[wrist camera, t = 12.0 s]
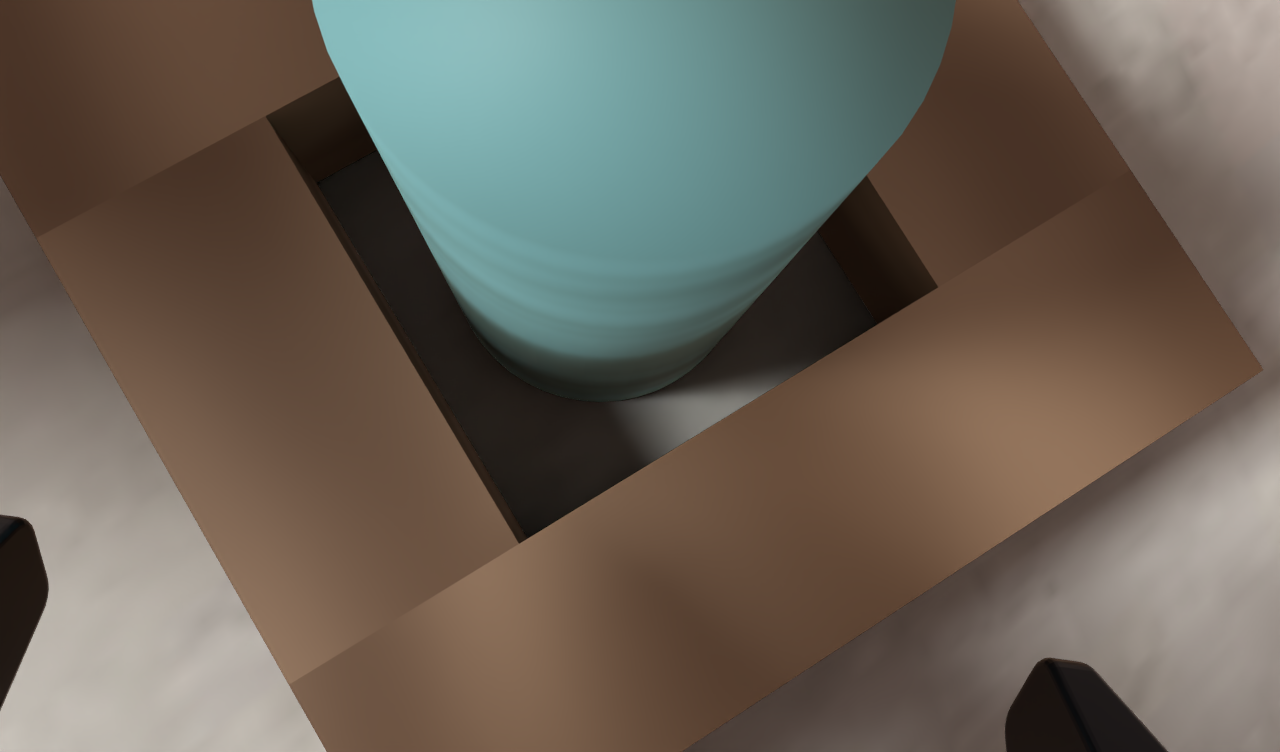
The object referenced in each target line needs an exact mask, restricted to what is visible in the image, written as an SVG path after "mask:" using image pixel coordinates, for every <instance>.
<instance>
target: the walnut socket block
mask: <svg viewBox="0 0 1280 752" xmlns="http://www.w3.org/2000/svg"><path fill="white" fill-rule="evenodd" d="M376 150H377V147H376V146H375V144H374V142H373V140H372V138H371V136H370V134H369V132H368V130H367V128H366V126H365V125H364V123H363V121H362V119H361V117H360V115H359V113H358V111H357V109H356V107H355V106H354V104H353V102H352V100H351V98H350V96H349V94H348V92H347V90H346V88H345V86H344V84H343V82H342V80H341V78H340V76H339V74H338V72H337V70H336V68H335V66H334V64H333V62H332V60H331V58H330V56H329V54H328V52H327V49H326V46H325V43H324V40H323V37H322V34H321V31H320V27H319V24H318V21H317V18H316V15H315V12H314V8H313V2H312V0H0V175H1V177H2V179H3V181H4V182H5V184H6V186H7V188H8V190H9V191H10V193H11V195H12V197H13V198H14V200H15V202H16V204H17V205H18V207H19V209H20V211H21V213H22V214H23V216H24V218H25V220H26V221H27V223H28V225H29V227H30V228H31V230H32V232H33V234H34V235H35V237H36V239H37V241H38V243H39V244H40V246H41V248H42V250H43V251H44V253H45V255H46V257H47V258H48V260H49V262H50V264H51V265H52V267H53V269H54V271H55V273H56V274H57V276H58V278H59V280H60V281H61V283H62V285H63V287H64V288H65V290H66V292H67V294H68V296H69V297H70V299H71V301H72V303H73V304H74V306H75V308H76V310H77V311H78V313H79V315H80V317H81V318H82V320H83V322H84V324H85V326H86V327H87V329H88V331H89V333H90V334H91V336H92V338H93V340H94V341H95V343H96V345H97V347H98V348H99V350H100V352H101V354H102V356H103V357H104V359H105V361H106V363H107V364H108V366H109V368H110V370H111V371H112V373H113V375H114V377H115V379H116V380H117V382H118V384H119V386H120V387H121V389H122V391H123V393H124V394H125V396H126V398H127V400H128V401H129V403H130V405H131V407H132V409H133V410H134V412H135V414H136V416H137V417H138V419H139V421H140V423H141V424H142V426H143V428H144V430H145V431H146V433H147V435H148V437H149V439H150V440H151V442H152V444H153V446H154V447H155V449H156V451H157V453H158V454H159V456H160V458H161V460H162V461H163V463H164V465H165V467H166V469H167V470H168V472H169V474H170V476H171V477H172V479H173V481H174V483H175V484H176V486H177V488H178V490H179V492H180V493H181V495H182V497H183V499H184V500H185V502H186V504H187V506H188V507H189V509H190V511H191V513H192V514H193V516H194V518H195V520H196V522H197V523H198V525H199V527H200V529H201V530H202V532H203V534H204V536H205V537H206V539H207V541H208V543H209V544H210V546H211V548H212V550H213V552H214V553H215V555H216V557H217V559H218V560H219V562H220V564H221V566H222V567H223V569H224V571H225V573H226V575H227V576H228V578H229V580H230V582H231V583H232V585H233V587H234V589H235V590H236V592H237V594H238V596H239V597H240V599H241V601H242V603H243V605H244V606H245V608H246V610H247V612H248V613H249V615H250V617H251V619H252V620H253V622H254V624H255V626H256V627H257V629H258V631H259V633H260V635H261V636H262V638H263V640H264V642H265V643H266V645H267V647H268V649H269V650H270V652H271V654H272V656H273V657H274V659H275V661H276V663H277V665H278V666H279V668H280V670H281V672H282V673H283V675H284V677H285V679H286V680H287V682H288V684H289V686H290V688H291V689H292V691H293V693H294V695H295V696H296V698H297V700H298V702H299V703H300V705H301V707H302V709H303V710H304V712H305V714H306V716H307V718H308V719H309V721H310V723H311V725H312V726H313V728H314V730H315V732H316V733H317V735H318V737H319V739H320V740H321V742H322V744H323V746H324V748H325V749H326V751H327V752H682V751H683V750H685V749H687V748H688V747H690V746H691V745H693V744H694V743H696V742H697V741H699V740H700V739H702V738H703V737H705V736H706V735H708V734H709V733H711V732H712V731H714V730H715V729H717V728H719V727H720V726H722V725H723V724H725V723H726V722H728V721H729V720H731V719H732V718H734V717H735V716H737V715H738V714H740V713H741V712H743V711H744V710H746V709H747V708H749V707H751V706H752V705H754V704H755V703H757V702H758V701H760V700H761V699H763V698H764V697H766V696H767V695H769V694H770V693H772V692H773V691H775V690H776V689H778V688H780V687H781V686H783V685H784V684H786V683H787V682H789V681H790V680H792V679H793V678H795V677H796V676H798V675H799V674H801V673H802V672H804V671H805V670H807V669H808V668H810V667H812V666H813V665H815V664H816V663H818V662H819V661H821V660H822V659H824V658H825V657H827V656H828V655H830V654H831V653H833V652H834V651H836V650H837V649H839V648H840V647H842V646H844V645H845V644H847V643H848V642H850V641H851V640H853V639H854V638H856V637H857V636H859V635H860V634H862V633H863V632H865V631H866V630H868V629H869V628H871V627H872V626H874V625H876V624H877V623H879V622H880V621H882V620H883V619H885V618H886V617H888V616H889V615H891V614H892V613H894V612H895V611H897V610H898V609H900V608H901V607H903V606H905V605H906V604H908V603H909V602H911V601H912V600H914V599H915V598H917V597H918V596H920V595H921V594H923V593H924V592H926V591H927V590H929V589H930V588H932V587H933V586H935V585H937V584H938V583H940V582H941V581H943V580H944V579H946V578H947V577H949V576H950V575H952V574H953V573H955V572H956V571H958V570H959V569H961V568H962V567H964V566H965V565H967V564H969V563H970V562H972V561H973V560H975V559H976V558H978V557H979V556H981V555H982V554H984V553H985V552H987V551H988V550H990V549H991V548H993V547H994V546H996V545H997V544H999V543H1001V542H1002V541H1004V540H1005V539H1007V538H1008V537H1010V536H1011V535H1013V534H1014V533H1016V532H1017V531H1019V530H1020V529H1022V528H1023V527H1025V526H1026V525H1028V524H1030V523H1031V522H1033V521H1034V520H1036V519H1037V518H1039V517H1040V516H1042V515H1043V514H1045V513H1046V512H1048V511H1049V510H1051V509H1052V508H1054V507H1055V506H1057V505H1058V504H1060V503H1062V502H1063V501H1065V500H1066V499H1068V498H1069V497H1071V496H1072V495H1074V494H1075V493H1077V492H1078V491H1080V490H1081V489H1083V488H1084V487H1086V486H1087V485H1089V484H1090V483H1092V482H1094V481H1095V480H1097V479H1098V478H1100V477H1101V476H1103V475H1104V474H1106V473H1107V472H1109V471H1110V470H1112V469H1113V468H1115V467H1116V466H1118V465H1119V464H1121V463H1122V462H1124V461H1126V460H1127V459H1129V458H1130V457H1132V456H1133V455H1135V454H1136V453H1138V452H1139V451H1141V450H1142V449H1144V448H1145V447H1147V446H1148V445H1150V444H1151V443H1153V442H1154V441H1156V440H1158V439H1159V438H1161V437H1162V436H1164V435H1165V434H1167V433H1168V432H1170V431H1171V430H1173V429H1174V428H1176V427H1177V426H1179V425H1180V424H1182V423H1183V422H1185V421H1187V420H1188V419H1190V418H1191V417H1193V416H1194V415H1196V414H1197V413H1199V412H1200V411H1202V410H1203V409H1205V408H1206V407H1208V406H1209V405H1211V404H1212V403H1214V402H1215V401H1217V400H1219V399H1220V398H1222V397H1223V396H1225V395H1226V394H1228V393H1229V392H1231V391H1232V390H1234V389H1235V388H1237V387H1238V386H1240V385H1241V384H1243V383H1244V382H1246V381H1247V380H1249V379H1251V378H1252V377H1254V376H1255V375H1257V374H1258V373H1260V372H1261V371H1263V368H1262V367H1261V365H1260V364H1259V362H1258V361H1257V359H1256V358H1255V356H1254V355H1253V353H1252V352H1251V350H1250V349H1249V347H1248V346H1247V344H1246V343H1245V341H1244V340H1243V338H1242V337H1241V335H1240V334H1239V332H1238V331H1237V329H1236V328H1235V326H1234V325H1233V323H1232V322H1231V320H1230V319H1229V317H1228V316H1227V314H1226V313H1225V311H1224V310H1223V308H1222V307H1221V305H1220V304H1219V302H1218V301H1217V299H1216V298H1215V296H1214V295H1213V293H1212V292H1211V290H1210V289H1209V287H1208V286H1207V284H1206V283H1205V281H1204V280H1203V278H1202V277H1201V275H1200V274H1199V272H1198V271H1197V269H1196V268H1195V266H1194V265H1193V263H1192V262H1191V260H1190V259H1189V257H1188V256H1187V254H1186V253H1185V251H1184V250H1183V248H1182V247H1181V245H1180V244H1179V242H1178V241H1177V239H1176V238H1175V236H1174V235H1173V233H1172V232H1171V230H1170V229H1169V227H1168V226H1167V224H1166V223H1165V221H1164V220H1163V218H1162V217H1161V215H1160V214H1159V212H1158V211H1157V209H1156V208H1155V206H1154V205H1153V203H1152V202H1151V200H1150V199H1149V197H1148V196H1147V194H1146V193H1145V191H1144V190H1143V188H1142V187H1141V185H1140V184H1139V182H1138V181H1137V179H1136V178H1135V176H1134V175H1133V173H1132V172H1131V170H1130V169H1129V167H1128V166H1127V164H1126V163H1125V161H1124V160H1123V158H1122V157H1121V155H1120V154H1119V152H1118V151H1117V149H1116V148H1115V146H1114V145H1113V143H1112V142H1111V140H1110V139H1109V137H1108V136H1107V134H1106V133H1105V131H1104V130H1103V128H1102V127H1101V125H1100V124H1099V122H1098V121H1097V119H1096V118H1095V116H1094V115H1093V113H1092V112H1091V110H1090V109H1089V107H1088V106H1087V104H1086V103H1085V101H1084V100H1083V98H1082V97H1081V95H1080V94H1079V92H1078V91H1077V89H1076V88H1075V86H1074V85H1073V83H1072V82H1071V80H1070V79H1069V77H1068V76H1067V74H1066V73H1065V71H1064V70H1063V68H1062V67H1061V65H1060V64H1059V62H1058V61H1057V59H1056V58H1055V56H1054V55H1053V53H1052V52H1051V50H1050V49H1049V47H1048V46H1047V44H1046V43H1045V41H1044V40H1043V38H1042V37H1041V35H1040V34H1039V32H1038V31H1037V29H1036V28H1035V26H1034V25H1033V23H1032V22H1031V20H1030V19H1029V17H1028V16H1027V14H1026V13H1025V11H1024V10H1023V8H1022V7H1021V5H1020V4H1019V2H1018V1H1017V0H956V3H955V9H954V16H953V22H952V27H951V31H950V34H949V37H948V41H947V44H946V47H945V51H944V54H943V57H942V61H941V64H940V66H939V68H938V71H937V73H936V75H935V77H934V79H933V81H932V84H931V86H930V88H929V90H928V92H927V94H926V96H925V99H924V101H923V102H922V104H921V105H920V107H919V108H918V110H917V112H916V113H915V115H914V116H913V118H912V119H911V121H910V122H909V124H908V126H907V127H906V129H905V130H904V132H903V133H902V135H901V136H900V137H899V138H898V139H897V141H896V142H895V143H894V144H893V145H892V146H891V147H890V149H889V150H888V151H887V152H886V153H885V154H884V156H883V157H882V158H881V159H880V160H879V161H878V163H877V164H876V165H875V166H874V167H873V168H872V169H871V170H870V172H869V173H868V174H867V175H866V176H865V177H864V178H863V180H862V181H861V182H860V183H859V184H858V185H857V186H856V187H855V189H854V190H853V191H852V192H851V193H850V194H849V195H848V196H847V198H846V199H845V200H844V201H843V202H842V203H841V204H840V206H839V207H838V208H837V209H836V210H835V211H834V212H833V213H832V215H831V216H830V217H829V218H828V219H827V220H826V221H825V222H824V224H823V225H822V226H821V227H820V228H819V229H818V232H819V233H820V235H821V237H822V238H823V240H824V241H825V243H826V244H827V246H828V248H829V249H830V251H831V252H832V254H833V255H834V257H835V259H836V260H837V262H838V263H839V265H840V266H841V268H842V270H843V271H844V273H845V274H846V276H847V277H848V279H849V281H850V282H851V284H852V285H853V287H854V289H855V290H856V292H857V293H858V295H859V296H860V298H861V300H862V301H863V303H864V304H865V306H866V307H867V309H868V311H869V312H870V314H871V315H872V317H873V318H874V320H875V322H876V323H877V325H876V326H874V327H873V328H871V329H869V330H868V331H866V332H864V333H863V334H861V335H860V336H858V337H856V338H855V339H853V340H851V341H850V342H848V343H847V344H845V345H843V346H842V347H840V348H838V349H837V350H835V351H833V352H832V353H830V354H829V355H827V356H825V357H824V358H822V359H820V360H819V361H817V362H815V363H814V364H812V365H811V366H809V367H807V368H806V369H804V370H802V371H801V372H799V373H797V374H796V375H794V376H793V377H791V378H789V379H788V380H786V381H784V382H783V383H781V384H780V385H778V386H776V387H775V388H773V389H771V390H770V391H768V392H766V393H765V394H763V395H762V396H760V397H758V398H757V399H755V400H753V401H752V402H750V403H748V404H747V405H745V406H744V407H742V408H740V409H739V410H737V411H735V412H734V413H732V414H730V415H729V416H727V417H726V418H724V419H722V420H721V421H719V422H717V423H716V424H714V425H713V426H711V427H709V428H708V429H706V430H704V431H703V432H701V433H699V434H698V435H696V436H695V437H693V438H691V439H690V440H688V441H686V442H685V443H683V444H681V445H680V446H678V447H677V448H675V449H673V450H672V451H670V452H668V453H667V454H665V455H663V456H662V457H660V458H659V459H657V460H655V461H654V462H652V463H650V464H649V465H647V466H646V467H644V468H642V469H641V470H639V471H637V472H636V473H634V474H632V475H631V476H629V477H628V478H626V479H624V480H623V481H621V482H619V483H618V484H616V485H614V486H613V487H611V488H610V489H608V490H606V491H605V492H603V493H601V494H600V495H598V496H596V497H595V498H593V499H592V500H590V501H588V502H587V503H585V504H583V505H582V506H580V507H579V508H577V509H575V510H574V511H572V512H570V513H569V514H567V515H565V516H564V517H562V518H561V519H559V520H557V521H556V522H554V523H552V524H551V525H549V526H547V527H546V528H544V529H543V530H541V531H539V532H538V533H536V534H534V535H533V536H531V537H529V538H528V539H527V537H526V535H525V534H524V532H523V530H522V529H521V527H520V525H519V523H518V522H517V520H516V518H515V517H514V515H513V513H512V512H511V510H510V508H509V507H508V505H507V503H506V502H505V500H504V498H503V497H502V495H501V493H500V491H499V490H498V488H497V486H496V485H495V483H494V481H493V480H492V478H491V476H490V475H489V473H488V471H487V470H486V468H485V466H484V465H483V463H482V461H481V459H480V458H479V456H478V454H477V453H476V451H475V449H474V448H473V446H472V444H471V443H470V441H469V439H468V438H467V436H466V434H465V433H464V431H463V429H462V427H461V426H460V424H459V422H458V421H457V419H456V417H455V416H454V414H453V412H452V411H451V409H450V407H449V406H448V404H447V402H446V401H445V399H444V397H443V395H442V394H441V392H440V390H439V389H438V387H437V385H436V384H435V382H434V380H433V379H432V377H431V375H430V374H429V372H428V370H427V369H426V367H425V365H424V363H423V362H422V360H421V358H420V357H419V355H418V353H417V352H416V350H415V348H414V347H413V345H412V343H411V342H410V340H409V338H408V337H407V335H406V333H405V331H404V330H403V328H402V326H401V325H400V323H399V321H398V320H397V318H396V316H395V315H394V313H393V311H392V310H391V308H390V306H389V305H388V303H387V301H386V299H385V298H384V296H383V294H382V293H381V291H380V289H379V288H378V286H377V284H376V283H375V281H374V279H373V278H372V276H371V274H370V273H369V271H368V269H367V267H366V266H365V264H364V262H363V261H362V259H361V257H360V256H359V254H358V252H357V251H356V249H355V247H354V246H353V244H352V242H351V241H350V239H349V237H348V235H347V234H346V232H345V230H344V229H343V227H342V225H341V224H340V222H339V220H338V219H337V217H336V215H335V214H334V212H333V210H332V209H331V207H330V205H329V203H328V202H327V200H326V198H325V197H324V195H323V193H322V192H321V190H320V188H319V187H318V185H317V182H319V181H321V180H322V179H324V178H326V177H328V176H330V175H332V174H333V173H335V172H337V171H339V170H341V169H343V168H344V167H346V166H348V165H350V164H352V163H354V162H355V161H357V160H359V159H361V158H363V157H365V156H366V155H368V154H370V153H372V152H374V151H376Z"/></svg>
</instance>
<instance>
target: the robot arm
mask: <svg viewBox="0 0 1280 752" xmlns="http://www.w3.org/2000/svg"><path fill="white" fill-rule="evenodd" d="M48 591H49V588H48V578H47V574H46V571H45V567H44V564H43V560H42V556H41V553H40V549H39V546H38V542H37V539H36V535H35V532H34V529H33V527H32V525H31V524H30V523H29V522H28V521H27V520H26V519H23V518H21V517H14V516H7V515H0V710H1V708H2V706H3V703H4V701H5V699H6V696H7V694H8V692H9V689H10V687H11V685H12V683H13V680H14V678H15V676H16V673H17V671H18V669H19V666H20V664H21V662H22V659H23V657H24V655H25V653H26V650H27V648H28V646H29V643H30V641H31V639H32V636H33V634H34V632H35V629H36V627H37V625H38V623H39V620H40V618H41V616H42V613H43V611H44V608H45V606H46V602H47V598H48ZM1005 741H1006V751H1007V752H1168V751H1167V750H1166V749H1165V748H1164V746H1163V745H1162V744H1161V743H1160V742H1159V741H1158V740H1157V739H1156V738H1155V736H1154V735H1153V734H1152V733H1151V732H1150V731H1149V730H1148V729H1147V727H1146V726H1145V725H1144V724H1143V723H1142V722H1141V721H1140V720H1139V719H1138V717H1137V716H1136V715H1135V714H1134V713H1133V712H1132V711H1131V710H1130V709H1129V707H1128V706H1127V705H1126V704H1125V703H1124V702H1123V701H1122V700H1121V699H1120V697H1119V696H1118V695H1117V694H1116V693H1115V692H1114V691H1113V690H1112V688H1111V687H1110V686H1109V685H1108V684H1107V683H1106V682H1105V681H1104V680H1103V678H1102V677H1101V676H1100V675H1099V674H1098V673H1097V672H1096V671H1095V670H1094V669H1093V668H1092V667H1090V666H1089V665H1087V664H1085V663H1082V662H1077V661H1070V660H1062V659H1055V658H1044V659H1042V660H1041V661H1039V662H1037V664H1036V665H1035V666H1034V668H1033V670H1032V671H1031V673H1030V675H1029V676H1028V678H1027V680H1026V682H1025V683H1024V685H1023V687H1022V688H1021V690H1020V692H1019V693H1018V695H1017V697H1016V699H1015V700H1014V702H1013V704H1012V705H1011V707H1010V709H1009V711H1008V715H1007V718H1006V724H1005Z"/></svg>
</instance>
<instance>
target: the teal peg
mask: <svg viewBox="0 0 1280 752" xmlns="http://www.w3.org/2000/svg"><path fill="white" fill-rule="evenodd" d="M312 2H313V8H314V12H315V15H316V18H317V21H318V24H319V27H320V31H321V34H322V37H323V40H324V43H325V46H326V49H327V52H328V54H329V56H330V58H331V60H332V62H333V64H334V66H335V68H336V70H337V72H338V74H339V76H340V78H341V80H342V82H343V84H344V86H345V88H346V90H347V92H348V94H349V96H350V98H351V100H352V102H353V104H354V106H355V107H356V109H357V111H358V113H359V115H360V117H361V119H362V121H363V123H364V125H365V126H366V128H367V130H368V132H369V134H370V136H371V138H372V140H373V142H374V144H375V146H376V147H377V149H378V151H379V153H380V155H381V157H382V159H383V161H384V163H385V165H386V167H387V168H388V170H389V172H390V174H391V176H392V178H393V180H394V182H395V184H396V186H397V188H398V189H399V191H400V193H401V195H402V197H403V199H404V201H405V203H406V205H407V207H408V208H409V210H410V212H411V214H412V216H413V218H414V220H415V222H416V224H417V226H418V228H419V229H420V231H421V233H422V235H423V237H424V239H425V241H426V243H427V245H428V247H429V249H430V250H431V252H432V254H433V256H434V258H435V260H436V262H437V264H438V266H439V268H440V270H441V271H442V273H443V275H444V277H445V279H446V281H447V283H448V285H449V287H450V289H451V290H452V292H453V294H454V296H455V298H456V300H457V302H458V304H459V306H460V308H461V310H462V311H463V313H464V315H465V317H466V319H467V321H468V323H469V325H470V327H471V329H472V330H473V332H474V333H475V335H476V336H477V338H478V339H479V341H480V342H481V343H482V345H483V346H484V347H485V348H486V349H487V350H488V352H489V353H490V354H491V355H492V356H493V357H494V358H495V359H496V360H497V361H498V362H499V363H500V364H501V365H503V366H504V367H505V368H506V369H507V370H508V371H509V372H511V373H512V374H514V375H515V376H517V377H519V378H520V379H522V380H523V381H525V382H526V383H528V384H530V385H532V386H534V387H536V388H539V389H541V390H543V391H545V392H548V393H551V394H554V395H557V396H560V397H564V398H570V399H575V400H580V401H594V402H606V401H620V400H625V399H630V398H635V397H639V396H642V395H645V394H648V393H651V392H654V391H657V390H659V389H661V388H663V387H665V386H667V385H669V384H671V383H673V382H675V381H676V380H678V379H679V378H681V377H682V376H684V375H685V374H687V373H688V372H690V371H691V370H692V369H693V368H694V367H695V366H696V365H697V364H699V363H700V362H701V361H702V360H703V359H704V358H705V357H706V356H707V355H708V354H709V352H710V351H711V350H712V349H713V348H714V347H715V346H716V345H717V343H718V342H719V341H720V340H721V339H722V338H723V337H724V335H725V334H726V333H727V332H728V331H729V330H730V329H731V328H732V326H733V325H734V324H735V323H736V322H737V321H738V320H739V319H740V317H741V316H742V315H743V314H744V313H745V312H746V311H747V309H748V308H749V307H750V306H751V305H752V304H753V303H754V302H755V300H756V299H757V298H758V297H759V296H760V295H761V294H762V293H763V291H764V290H765V289H766V288H767V287H768V286H769V285H770V284H771V282H772V281H773V280H774V279H775V278H776V277H777V276H778V274H779V273H780V272H781V271H782V270H783V269H784V268H785V267H786V265H787V264H788V263H789V262H790V261H791V260H792V259H793V258H794V256H795V255H796V254H797V253H798V252H799V251H800V250H801V248H802V247H803V246H804V245H805V244H806V243H807V242H808V241H809V239H810V238H811V237H812V236H813V235H814V234H815V233H816V232H817V230H818V229H819V228H820V227H821V226H822V225H823V224H824V222H825V221H826V220H827V219H828V218H829V217H830V216H831V215H832V213H833V212H834V211H835V210H836V209H837V208H838V207H839V206H840V204H841V203H842V202H843V201H844V200H845V199H846V198H847V196H848V195H849V194H850V193H851V192H852V191H853V190H854V189H855V187H856V186H857V185H858V184H859V183H860V182H861V181H862V180H863V178H864V177H865V176H866V175H867V174H868V173H869V172H870V170H871V169H872V168H873V167H874V166H875V165H876V164H877V163H878V161H879V160H880V159H881V158H882V157H883V156H884V154H885V153H886V152H887V151H888V150H889V149H890V147H891V146H892V145H893V144H894V143H895V142H896V141H897V139H898V138H899V137H900V136H901V135H902V133H903V132H904V130H905V129H906V127H907V126H908V124H909V122H910V121H911V119H912V118H913V116H914V115H915V113H916V112H917V110H918V108H919V107H920V105H921V104H922V102H923V101H924V99H925V96H926V94H927V92H928V90H929V88H930V86H931V84H932V81H933V79H934V77H935V75H936V73H937V71H938V68H939V66H940V64H941V61H942V57H943V54H944V51H945V47H946V44H947V41H948V37H949V34H950V31H951V27H952V22H953V16H954V9H955V3H956V0H312Z"/></svg>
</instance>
